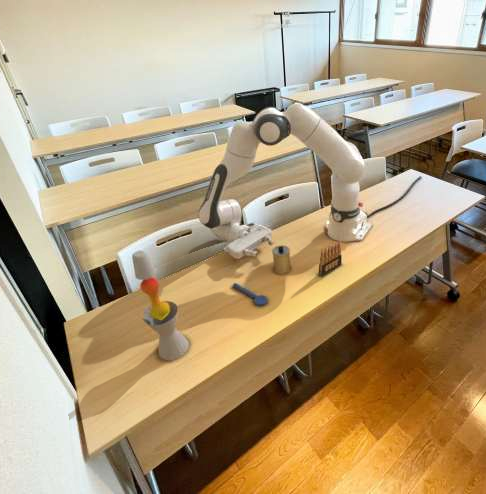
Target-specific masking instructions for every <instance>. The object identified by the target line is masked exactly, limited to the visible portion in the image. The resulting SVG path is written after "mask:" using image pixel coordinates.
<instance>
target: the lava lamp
mask: <svg viewBox="0 0 486 494" xmlns="http://www.w3.org/2000/svg"><path fill="white" fill-rule="evenodd" d="M131 259H132V264H133V270H134V276H135V278H136V280H140V281H141V282H140V284H139V285H140V290H141V292H142V293H143V294H145V295H147V296H148V297H149V299H150V302H151V305H150V306H149V307H148V308H147V309H146V310H145V311H144V313H143V314H142V319H143V321H144V323H145V324H146V325H147V326H148V327H149V328H151V329H152V330H153V331H154V332H156V333H157V334H158V335H159V338H158V356H159V358H161V359H162V360H165V361H174V360H177V359H179V358H181V357H182V356H184V354H186V353H187V352H188V349H189V346H190V344H189V343H190V342H189V340H188V339H187V338H186V336H184V335H183V334H182V333H181V332H180V331H179V329H177V328H176V327H177V320H178V313H179V309H178V305H177V304H176V303H175V302H173V301H170V300H164V301H163V300H162V301H161V300H160V297H159V288H160V283H159V281H158V280H157V278H155V277H154V276H156V274H157V269H156V268H155V266H154V263H153V262H152V260H151V259H150V257H149V256H148V253H147V252H146V251H145V250H136V251H135V252H133V253H132V256H131Z"/></svg>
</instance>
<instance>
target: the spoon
mask: <svg viewBox="0 0 486 494" xmlns="http://www.w3.org/2000/svg"><path fill="white" fill-rule="evenodd" d="M232 286H233V287H234V288H236V289H238V290H239V291H240V292H242V293H244V294H246V295H247V296H249V297H250V298H252V299H253V300H254V301H253V303H254V304H255V305H256V306H258V307H263V306H265V305H267V304H268V297H267V296H266V295H263V294H260V295H257V294H256V293H254V292H252V291H250V290H248V289H247V288H245V287H243V286H242V285H240V284H238V283H237V282H233V285H232Z"/></svg>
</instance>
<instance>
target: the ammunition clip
mask: <svg viewBox="0 0 486 494" xmlns="http://www.w3.org/2000/svg"><path fill="white" fill-rule="evenodd" d="M342 255H343V254H342V241H340V239H339V241H337V240H335V242H332V243H331V245H330V244H328V246H325V247H324V248H321V250H320V257H319V263H318V275H319V276H320V277H324V276H325V275H327V274H329V273H331V272H332V271H333V270H336V269H337V268H339V267H340V266H342V260H343V259H342V258H343V257H342Z"/></svg>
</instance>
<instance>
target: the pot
mask: <svg viewBox="0 0 486 494" xmlns="http://www.w3.org/2000/svg"><path fill="white" fill-rule="evenodd" d="M290 253H291V249H290V247H289V246H287V245H281V244H279V245H276V246H275V247H273V248H272V250H271V254H272V258H273V270H274V272H275V273H276V274H279V275H286V274H288V273H290V271H291V256H290Z"/></svg>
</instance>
